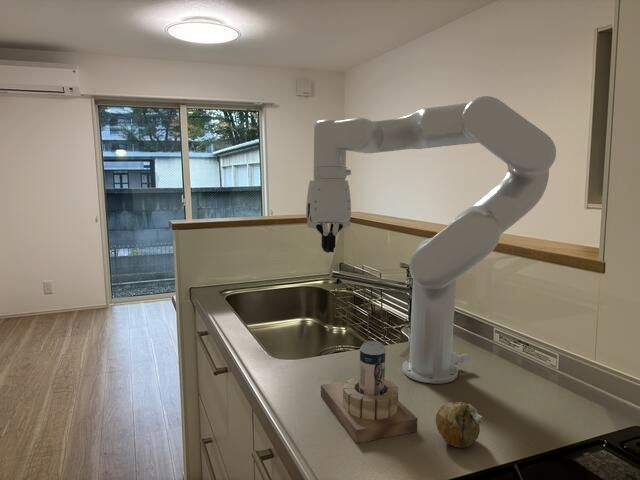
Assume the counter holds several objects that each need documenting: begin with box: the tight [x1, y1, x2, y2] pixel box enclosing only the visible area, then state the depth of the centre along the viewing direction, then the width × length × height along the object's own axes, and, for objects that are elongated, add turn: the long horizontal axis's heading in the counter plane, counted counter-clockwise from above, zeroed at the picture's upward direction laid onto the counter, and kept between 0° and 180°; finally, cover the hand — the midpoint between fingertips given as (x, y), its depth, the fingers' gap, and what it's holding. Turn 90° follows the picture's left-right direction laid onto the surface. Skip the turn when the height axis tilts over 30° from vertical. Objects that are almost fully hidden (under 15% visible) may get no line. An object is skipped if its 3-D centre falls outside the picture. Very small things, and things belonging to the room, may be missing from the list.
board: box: [320, 376, 419, 444], centre depth 91 cm, size 12×18×6 cm, turn 20°
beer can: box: [358, 340, 386, 396], centre depth 89 cm, size 5×5×12 cm
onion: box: [435, 401, 485, 449], centre depth 82 cm, size 8×8×8 cm
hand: (328, 251), depth 114 cm, fingers closed
